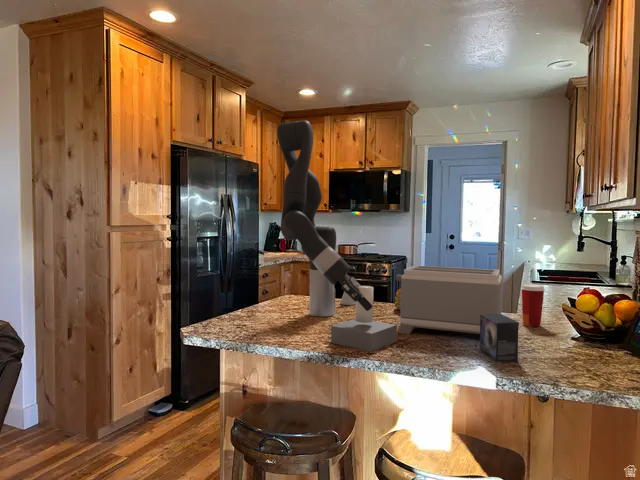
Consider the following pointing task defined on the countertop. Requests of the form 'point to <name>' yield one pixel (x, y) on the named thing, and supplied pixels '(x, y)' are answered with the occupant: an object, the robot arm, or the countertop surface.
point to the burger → (398, 295)
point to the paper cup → (532, 304)
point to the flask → (347, 300)
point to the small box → (499, 337)
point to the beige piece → (360, 311)
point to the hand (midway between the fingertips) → (370, 307)
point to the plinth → (364, 334)
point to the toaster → (448, 298)
